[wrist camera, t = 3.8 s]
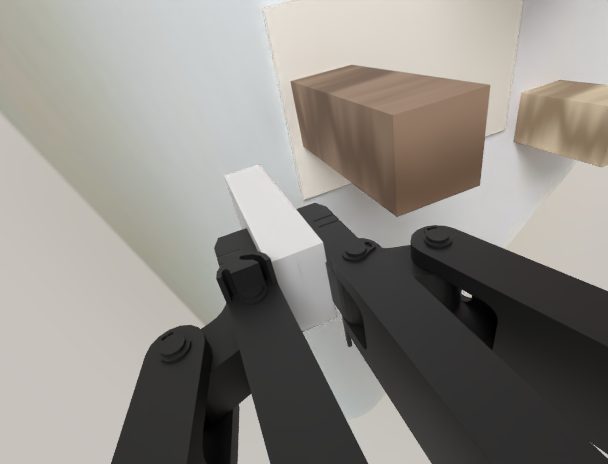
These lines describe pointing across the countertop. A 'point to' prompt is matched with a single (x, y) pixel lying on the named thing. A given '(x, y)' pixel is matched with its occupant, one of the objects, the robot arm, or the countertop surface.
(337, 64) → the board
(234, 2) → the countertop surface
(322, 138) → the walnut block
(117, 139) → the countertop surface
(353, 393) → the countertop surface
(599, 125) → the beech block
